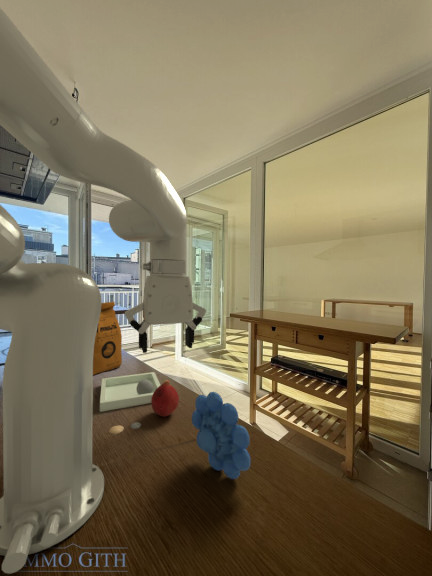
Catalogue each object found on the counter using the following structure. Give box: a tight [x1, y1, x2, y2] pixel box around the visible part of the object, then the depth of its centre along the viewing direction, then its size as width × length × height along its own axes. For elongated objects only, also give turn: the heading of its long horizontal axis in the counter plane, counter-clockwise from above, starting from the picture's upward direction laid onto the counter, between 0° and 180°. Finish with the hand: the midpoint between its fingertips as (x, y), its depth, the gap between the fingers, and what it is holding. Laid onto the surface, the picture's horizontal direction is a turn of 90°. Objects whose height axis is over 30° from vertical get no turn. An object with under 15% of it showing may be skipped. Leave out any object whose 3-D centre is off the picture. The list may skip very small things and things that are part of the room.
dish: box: [99, 371, 162, 413], centre depth 62 cm, size 14×14×2 cm
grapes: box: [191, 391, 252, 480], centre depth 38 cm, size 12×7×12 cm, turn 49°
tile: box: [108, 422, 142, 435], centre depth 48 cm, size 6×8×1 cm
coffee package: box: [93, 301, 123, 375], centre depth 78 cm, size 10×12×22 cm
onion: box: [150, 379, 180, 418], centre depth 53 cm, size 6×6×8 cm
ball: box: [136, 379, 153, 395], centre depth 61 cm, size 4×4×4 cm
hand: (167, 348), depth 53 cm, fingers open, 9 cm apart
